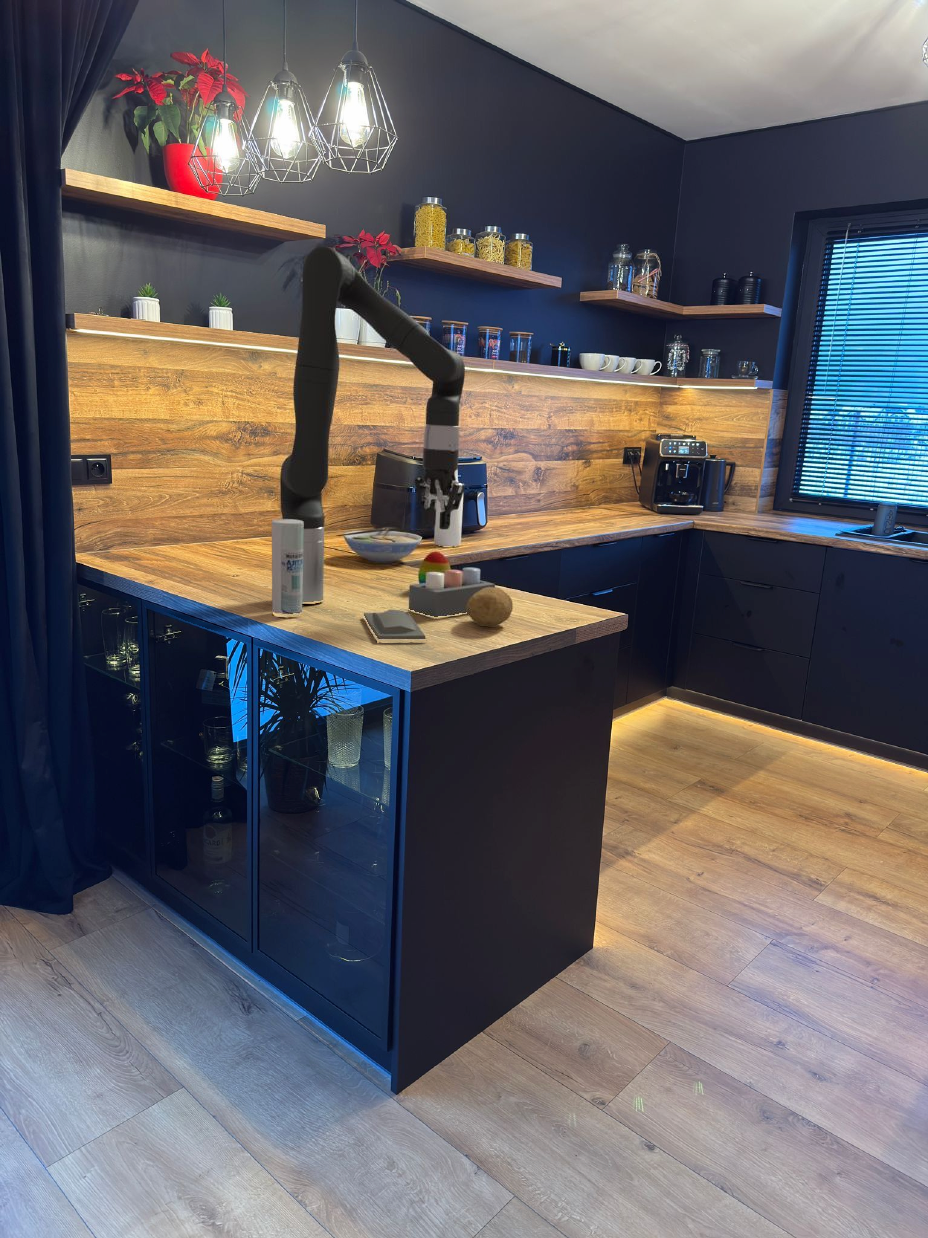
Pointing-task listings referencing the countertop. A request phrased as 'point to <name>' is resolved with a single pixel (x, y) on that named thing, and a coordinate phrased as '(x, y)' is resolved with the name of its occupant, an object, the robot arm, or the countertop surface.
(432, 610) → the grey rectangular block
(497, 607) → the potato
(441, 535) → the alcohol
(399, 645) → the countertop surface
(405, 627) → the soap mold
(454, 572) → the brown egg
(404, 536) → the ramen bowl
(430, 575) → the white egg
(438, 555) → the decorative egg
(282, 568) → the spray can
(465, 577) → the blue grey egg
